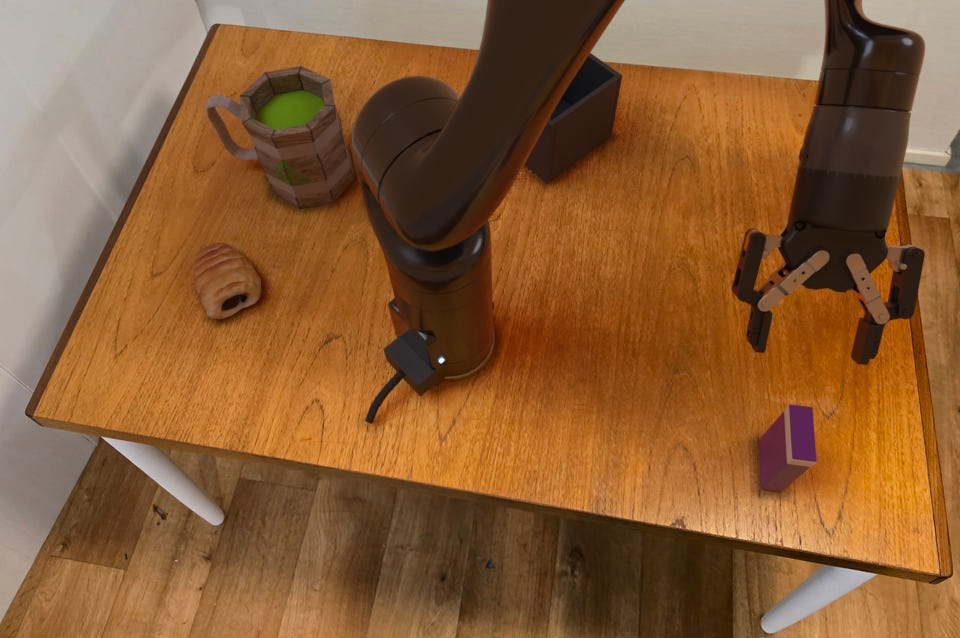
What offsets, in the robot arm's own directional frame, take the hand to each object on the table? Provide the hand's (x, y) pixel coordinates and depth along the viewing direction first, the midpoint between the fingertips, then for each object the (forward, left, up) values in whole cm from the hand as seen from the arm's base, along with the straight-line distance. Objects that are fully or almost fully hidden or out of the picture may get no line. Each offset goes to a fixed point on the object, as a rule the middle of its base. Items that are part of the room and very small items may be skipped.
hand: (808, 356), depth 65 cm
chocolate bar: (-5, -4, -11) cm, 13 cm away
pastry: (-33, +49, -12) cm, 60 cm away
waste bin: (+9, +41, -11) cm, 44 cm away
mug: (-18, +58, -12) cm, 62 cm away
